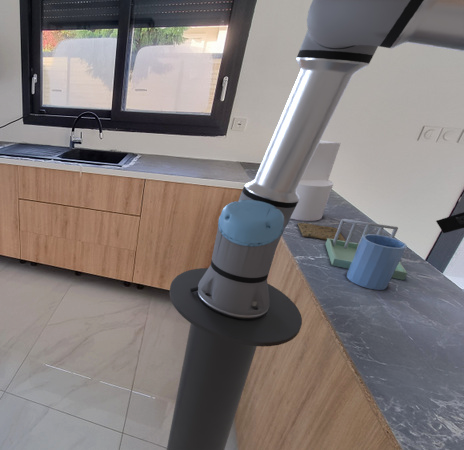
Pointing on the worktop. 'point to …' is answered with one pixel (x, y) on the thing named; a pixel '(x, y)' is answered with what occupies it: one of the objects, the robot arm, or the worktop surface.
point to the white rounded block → (316, 183)
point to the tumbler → (375, 261)
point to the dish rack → (355, 247)
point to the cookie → (319, 231)
